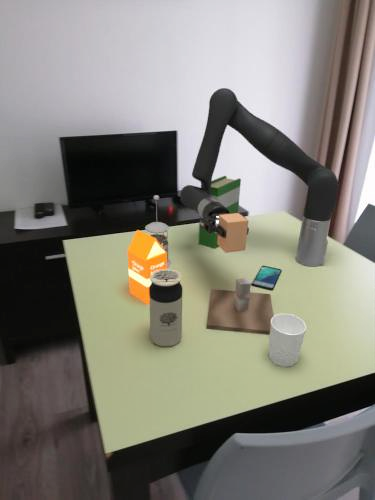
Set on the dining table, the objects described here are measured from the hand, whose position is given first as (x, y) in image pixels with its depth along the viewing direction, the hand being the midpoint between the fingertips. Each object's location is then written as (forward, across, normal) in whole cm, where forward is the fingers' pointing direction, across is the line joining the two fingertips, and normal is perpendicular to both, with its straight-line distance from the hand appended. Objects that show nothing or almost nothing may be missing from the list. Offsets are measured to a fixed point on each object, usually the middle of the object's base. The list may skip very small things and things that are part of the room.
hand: (236, 233), depth 99 cm
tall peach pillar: (-2, 0, +5) cm, 6 cm away
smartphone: (-9, +18, +22) cm, 30 cm away
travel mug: (+11, -23, +22) cm, 34 cm away
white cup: (+26, +2, +22) cm, 34 cm away
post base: (+6, 0, +22) cm, 23 cm away
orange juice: (-10, -23, +22) cm, 33 cm away
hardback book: (-42, +14, +22) cm, 50 cm away
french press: (-30, -14, +22) cm, 40 cm away
